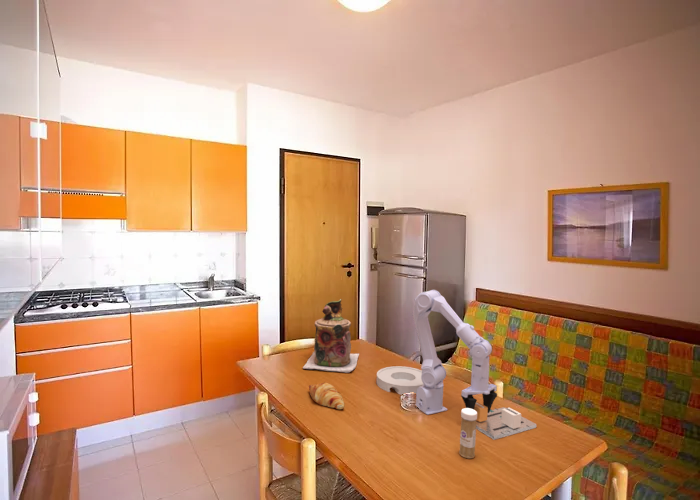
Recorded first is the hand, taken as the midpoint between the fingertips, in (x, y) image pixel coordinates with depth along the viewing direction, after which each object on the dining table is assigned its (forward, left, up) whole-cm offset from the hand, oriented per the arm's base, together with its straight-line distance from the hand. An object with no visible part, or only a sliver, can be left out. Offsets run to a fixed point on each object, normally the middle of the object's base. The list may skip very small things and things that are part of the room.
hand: (478, 413), depth 137 cm
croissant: (-43, +36, -4) cm, 56 cm away
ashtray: (-5, +39, -4) cm, 40 cm away
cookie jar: (-23, +74, -3) cm, 78 cm away
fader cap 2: (+7, -8, -1) cm, 11 cm away
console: (+6, -4, -3) cm, 8 cm away
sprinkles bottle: (-18, -14, -3) cm, 23 cm away
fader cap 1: (0, 0, -2) cm, 2 cm away
